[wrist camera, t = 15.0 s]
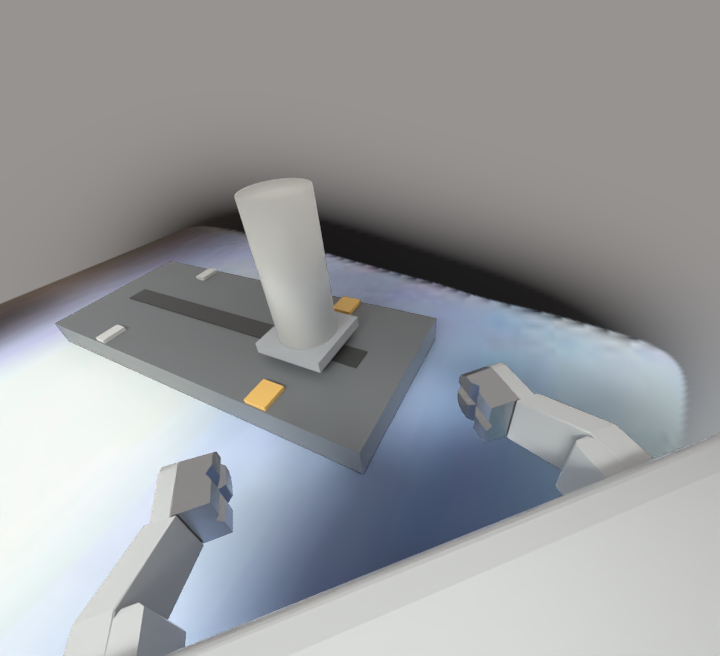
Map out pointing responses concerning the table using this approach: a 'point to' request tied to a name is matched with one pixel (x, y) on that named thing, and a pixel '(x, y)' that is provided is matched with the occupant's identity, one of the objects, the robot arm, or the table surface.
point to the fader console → (258, 357)
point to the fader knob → (293, 273)
